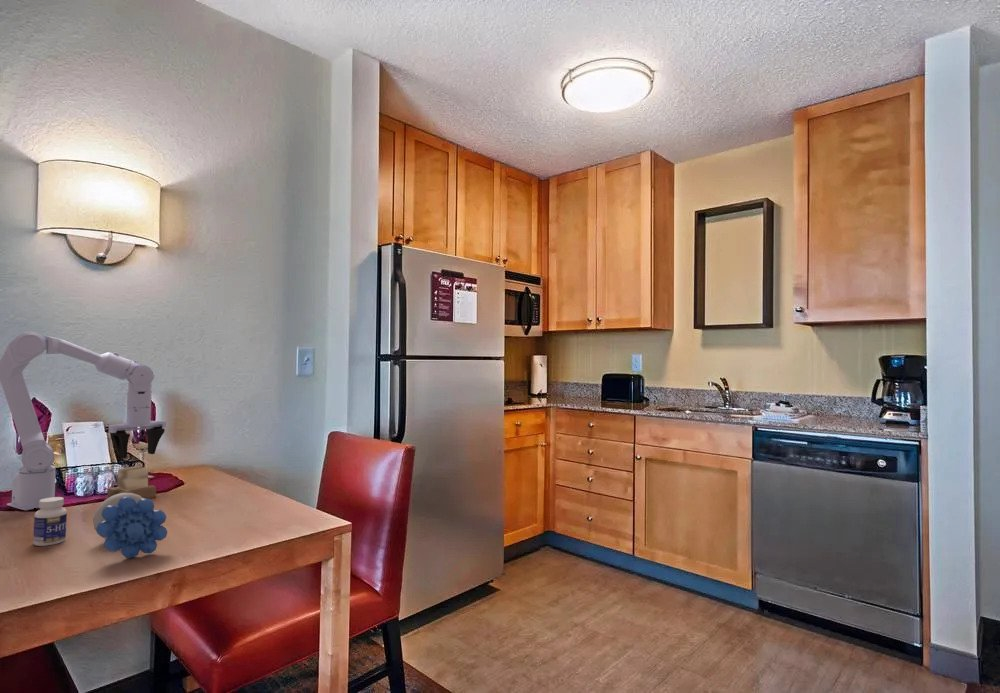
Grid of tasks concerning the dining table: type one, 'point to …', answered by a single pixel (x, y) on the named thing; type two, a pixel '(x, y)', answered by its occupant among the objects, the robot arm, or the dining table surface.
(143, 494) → the base
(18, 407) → the robot arm
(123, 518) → the blue flower rosette
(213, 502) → the dining table surface
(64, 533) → the pill bottle
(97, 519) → the donut
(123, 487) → the cube
